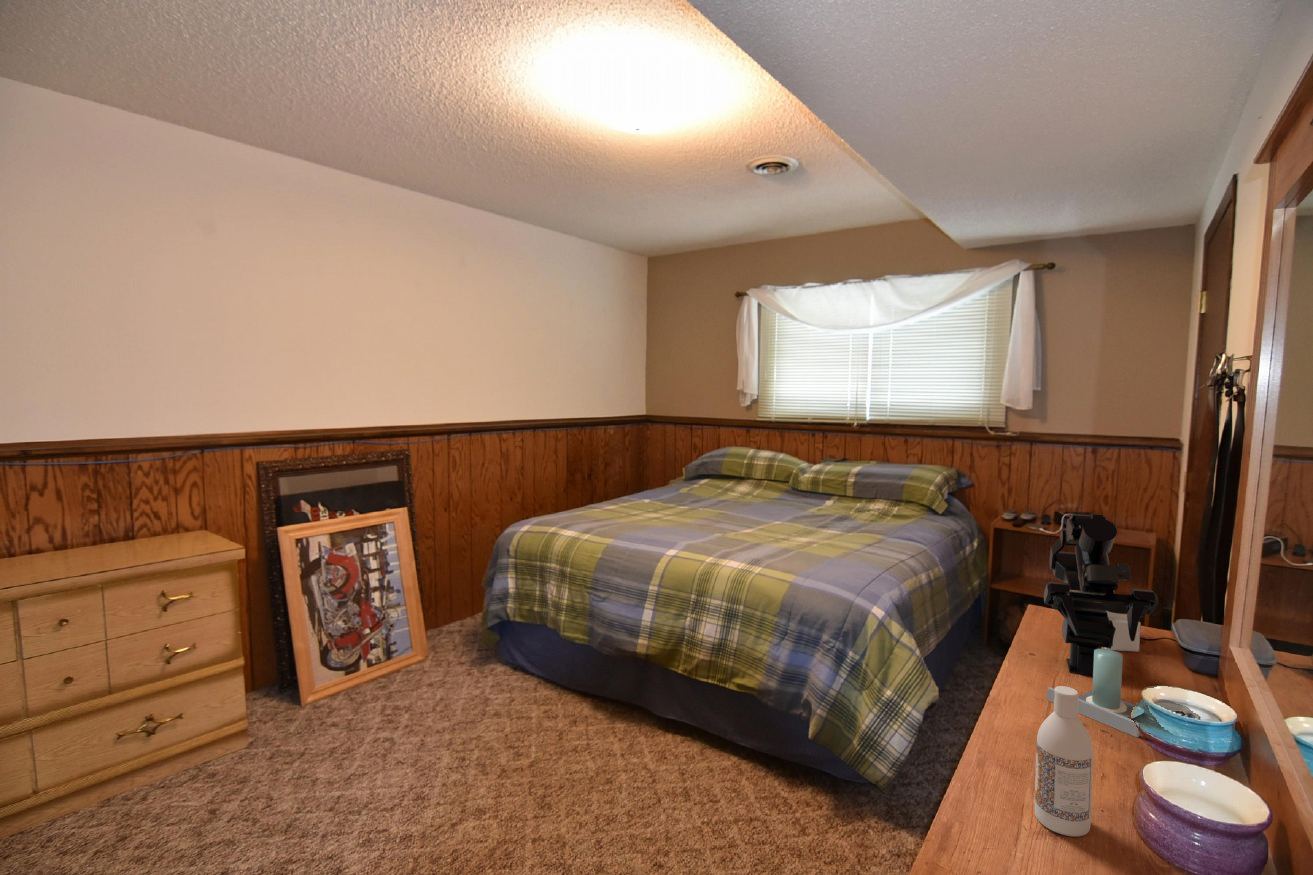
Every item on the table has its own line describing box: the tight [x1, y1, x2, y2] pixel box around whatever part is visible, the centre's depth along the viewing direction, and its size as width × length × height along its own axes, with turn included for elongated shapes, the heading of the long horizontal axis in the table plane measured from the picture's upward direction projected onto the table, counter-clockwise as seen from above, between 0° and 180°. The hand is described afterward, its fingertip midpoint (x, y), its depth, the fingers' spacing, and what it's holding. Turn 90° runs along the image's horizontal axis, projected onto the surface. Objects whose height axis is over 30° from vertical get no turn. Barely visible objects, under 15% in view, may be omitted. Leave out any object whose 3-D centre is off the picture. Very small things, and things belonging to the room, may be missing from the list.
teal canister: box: [1091, 648, 1123, 709], centre depth 126 cm, size 4×4×10 cm
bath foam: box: [1034, 685, 1094, 837], centre depth 94 cm, size 7×7×20 cm
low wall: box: [1046, 686, 1141, 738], centre depth 123 cm, size 16×1×2 cm, turn 29°
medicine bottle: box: [1101, 602, 1142, 653], centre depth 155 cm, size 7×7×12 cm
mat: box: [1078, 689, 1136, 719], centre depth 126 cm, size 9×9×1 cm
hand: (1104, 637), depth 128 cm, fingers open, 9 cm apart
